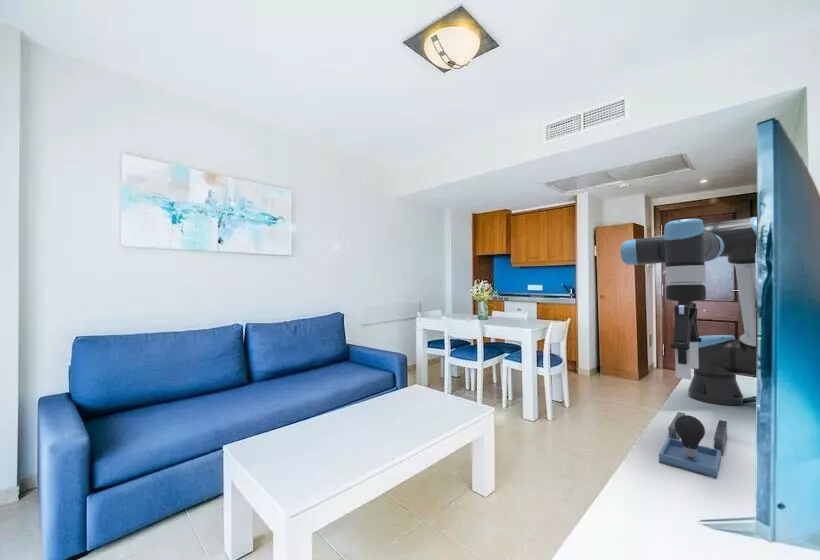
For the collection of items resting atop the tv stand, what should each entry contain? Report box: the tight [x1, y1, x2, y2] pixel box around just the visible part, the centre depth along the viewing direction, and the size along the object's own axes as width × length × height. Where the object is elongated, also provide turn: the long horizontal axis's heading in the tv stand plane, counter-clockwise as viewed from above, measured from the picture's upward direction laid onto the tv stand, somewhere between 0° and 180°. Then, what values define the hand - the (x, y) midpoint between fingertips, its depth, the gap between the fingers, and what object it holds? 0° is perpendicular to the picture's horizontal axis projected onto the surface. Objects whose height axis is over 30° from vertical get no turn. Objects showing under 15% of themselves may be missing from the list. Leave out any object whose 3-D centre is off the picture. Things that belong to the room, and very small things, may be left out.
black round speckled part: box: [675, 414, 706, 459], centre depth 82 cm, size 6×6×10 cm
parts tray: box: [658, 437, 722, 479], centre depth 82 cm, size 12×10×2 cm
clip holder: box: [667, 411, 728, 457], centre depth 93 cm, size 16×11×4 cm
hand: (687, 372), depth 83 cm, fingers open, 13 cm apart
